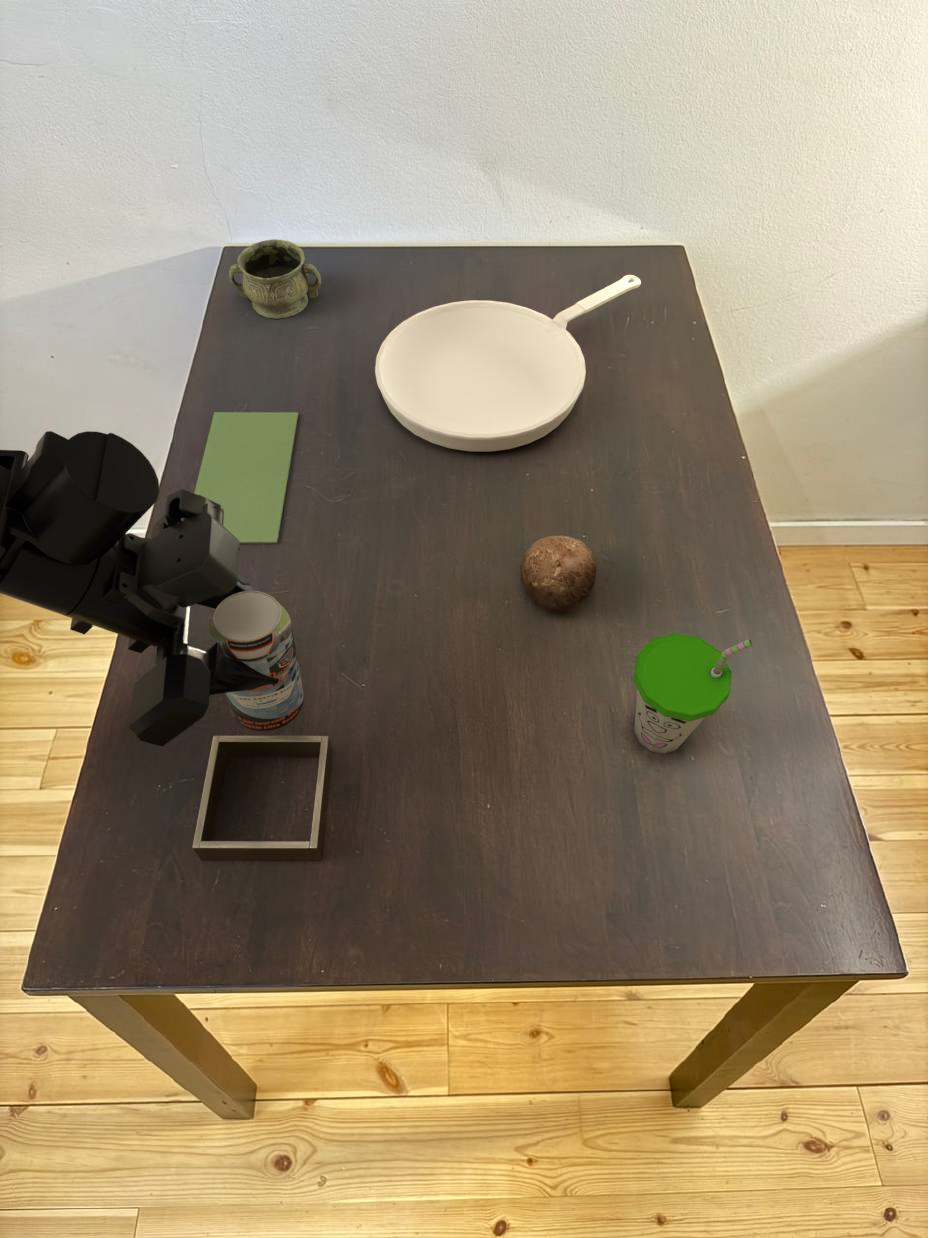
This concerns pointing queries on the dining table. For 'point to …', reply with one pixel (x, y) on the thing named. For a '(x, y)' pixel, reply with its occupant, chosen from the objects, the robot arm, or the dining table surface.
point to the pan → (485, 371)
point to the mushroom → (558, 573)
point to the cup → (678, 688)
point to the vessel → (275, 278)
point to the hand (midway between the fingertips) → (276, 649)
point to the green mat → (249, 471)
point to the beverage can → (260, 658)
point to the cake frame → (262, 748)
